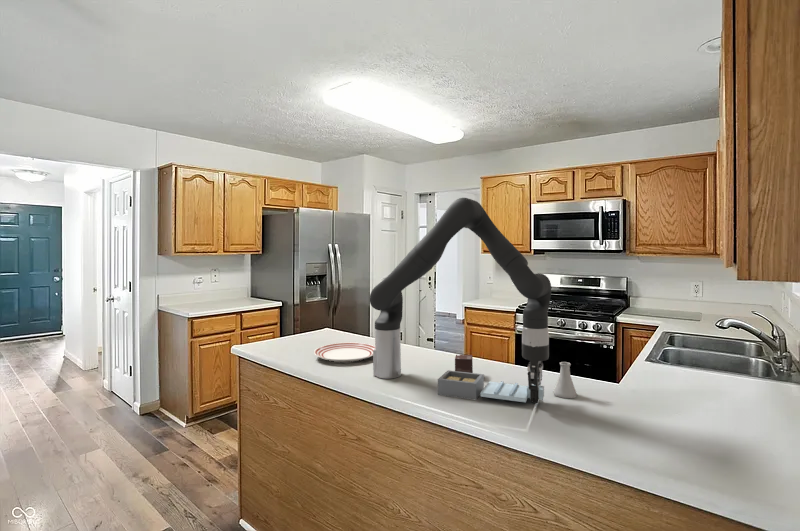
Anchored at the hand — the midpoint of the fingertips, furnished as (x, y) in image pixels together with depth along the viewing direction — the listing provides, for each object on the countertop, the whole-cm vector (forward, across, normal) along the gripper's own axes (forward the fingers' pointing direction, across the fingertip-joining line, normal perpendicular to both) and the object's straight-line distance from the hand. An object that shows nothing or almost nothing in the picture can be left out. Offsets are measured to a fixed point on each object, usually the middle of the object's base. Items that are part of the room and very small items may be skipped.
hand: (535, 399), depth 127 cm
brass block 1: (+1, 0, -25) cm, 25 cm away
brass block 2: (+1, 0, -20) cm, 20 cm away
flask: (+1, -11, +8) cm, 13 cm away
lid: (-1, 0, -6) cm, 6 cm away
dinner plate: (+2, -26, -80) cm, 85 cm away
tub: (+1, 0, -22) cm, 23 cm away
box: (+1, -17, -26) cm, 32 cm away
